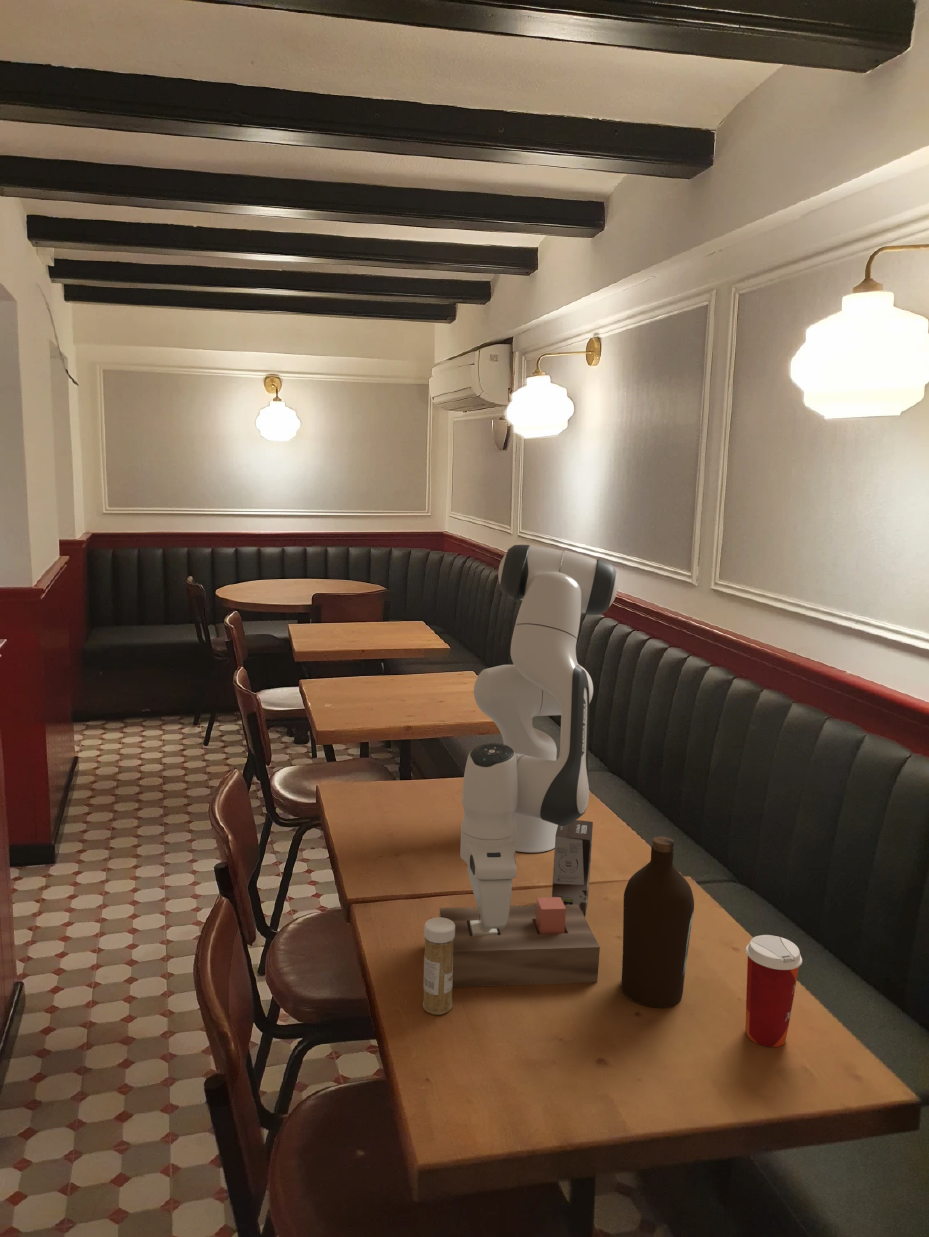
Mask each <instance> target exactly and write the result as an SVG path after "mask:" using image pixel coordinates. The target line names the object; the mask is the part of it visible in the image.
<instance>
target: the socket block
mask: <svg viewBox="0 0 929 1237" xmlns="http://www.w3.org/2000/svg"><path fill="white" fill-rule="evenodd" d="M564 906H565V908H566V916H565V933H559V934H538V933H537V930H536V928H535V920H536V905H510V910H509V918H508V922H507V925H506V926H505V928H499V929H497V932H498V935H490V936H470V933H469V930H470V921H472V920H478V907H477V906H465V907H461V906H460V907H456V906H455V907H439V917H442V918H447V919H450V920H451V921H453V922H454V924H455V937H454V940H453V986H452V988H464V987H466V988H469V987H492V986H493V987H497V986H522V985H523V986H525V985H553V984H575V983H577V984H579V983H580V984H581V983H584V984H585V983H598V977H599V976H598V975H599V965H600V950H601V947H600V945H599V942H598V941H597V938H596V937H595V935H594V933H593V930H592V928H591V927H590V925H589V923H588V921H587V919H586V917H584V915H583V913H582V911H581V909H580V907H579V905H578V904H576V905H564Z"/></svg>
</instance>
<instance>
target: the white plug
mask: <svg viewBox="0 0 929 1237" xmlns="http://www.w3.org/2000/svg"><path fill="white" fill-rule="evenodd" d="M469 933H470V936H490V935H498V932H497V929H491V930H490V931H482V930H481V929H480V925H479V922H478V920H472V921H470V930H469Z"/></svg>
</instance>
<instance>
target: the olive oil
mask: <svg viewBox="0 0 929 1237" xmlns="http://www.w3.org/2000/svg"><path fill="white" fill-rule="evenodd" d="M674 845H675V841H674V840H673V839H672V838H670V837H667V836H655V837H653V838H652V846H651V849H650V861H649V862H647V864H645V865H644V866H643V867H642V868H640V869H639V870H637V871H636V872H634V874H633V875H632V876H631V877H630V878H629V880H628V881H627V884H626V886H625V889H624V892H623V906H622V907H623V914H622V915H623V916H622V917H623V921H622V922H623V923H622V961H621V962H622V963H621V964H622V967H621V990H622V992H623V993H624V995H625V996H626V997H627V998H628V999H630V1000H631V1001H633V1002H634V1003H637V1004H639V1005H642V1006H645V1007H650V1008H658V1009H659V1008H661V1009H663V1008H668V1007H673V1006H674V1005H676V1004H678V1003H679V1002H680V1001H681V1000H682V998H683V993H684V984H685V978H686V976H685V975H686V971H687V970H686V967H687V960H688V954H689V953H688V952H689V946H690V939H691V932H692V924H693V918H694V911H695V899H694V894H693V891H692V888H691V886H690V883H689V882H688V881H687V880H686V878H685V877H684V876H683V874H681V873H680V872H679V870H678V869H677V868H676V867H675V865H674V864H673V863H674V855H675V849H674Z"/></svg>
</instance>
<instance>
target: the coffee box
mask: <svg viewBox="0 0 929 1237" xmlns="http://www.w3.org/2000/svg"><path fill="white" fill-rule="evenodd" d="M593 826H594V822H593V821H589V820H579V819H577V820H575V821H574V822H572V823H570V824H567V825H565V826H560V825H558V827H557V832H556V836H555V837H556V838H555V848H554V855H553V869H552V870H553V871H552V888H551V897H561V899H562V902H563V904H564V905H576V904H578V905H579V907H580V909H581V911H582V913H583V915H584V917H585V918H586V916H587V908H588V904H589V891H590V880H591V879H590V877H591V876H590V875H591V860H592V844H593V843H592V842H593V828H594V827H593Z"/></svg>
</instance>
